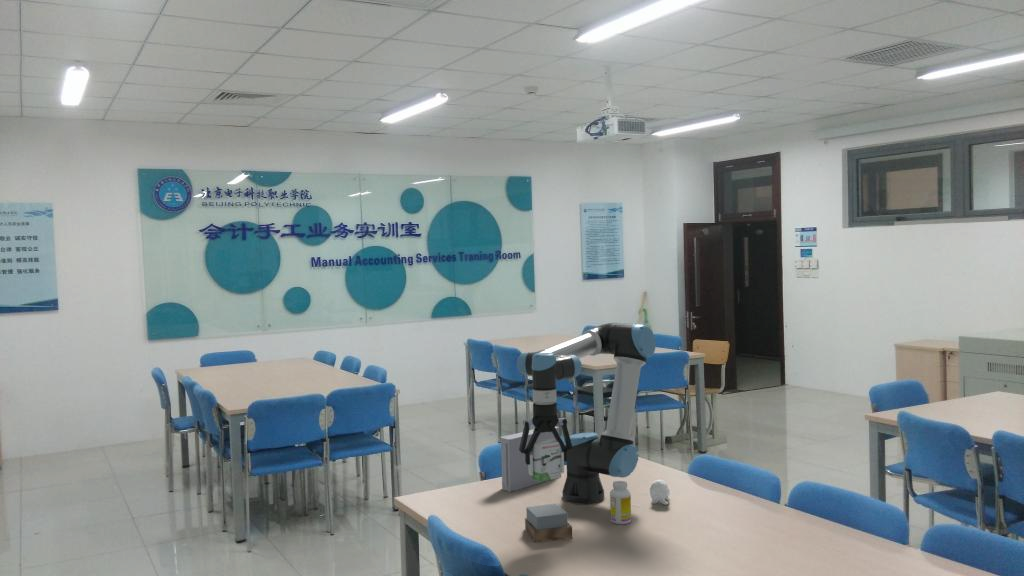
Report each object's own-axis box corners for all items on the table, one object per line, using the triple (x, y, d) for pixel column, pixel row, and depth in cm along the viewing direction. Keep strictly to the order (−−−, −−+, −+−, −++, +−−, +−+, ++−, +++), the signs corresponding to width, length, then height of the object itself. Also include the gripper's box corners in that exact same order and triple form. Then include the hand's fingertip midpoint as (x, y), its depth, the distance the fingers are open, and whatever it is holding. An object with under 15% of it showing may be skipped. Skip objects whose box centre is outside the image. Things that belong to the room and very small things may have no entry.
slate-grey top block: (555, 515, 246) (555, 503, 246) (567, 525, 237) (567, 513, 237) (526, 519, 243) (526, 507, 243) (537, 530, 234) (537, 517, 234)
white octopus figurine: (648, 480, 264) (655, 474, 276) (648, 505, 264) (655, 498, 275) (666, 482, 262) (673, 475, 273) (666, 507, 262) (673, 499, 273)
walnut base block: (560, 526, 248) (560, 514, 247) (572, 539, 236) (572, 526, 236) (525, 530, 245) (525, 518, 245) (535, 543, 233) (534, 531, 233)
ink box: (540, 482, 235) (539, 444, 234) (530, 478, 239) (529, 441, 238) (562, 477, 239) (561, 440, 239) (552, 473, 243) (552, 437, 243)
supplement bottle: (633, 519, 251) (632, 481, 251) (627, 526, 245) (627, 486, 245) (614, 516, 254) (613, 478, 253) (608, 523, 248) (607, 484, 247)
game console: (499, 489, 288) (498, 437, 287) (550, 473, 306) (548, 424, 305) (510, 492, 283) (508, 439, 282) (560, 476, 302) (559, 427, 301)
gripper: (513, 407, 232) (514, 479, 233) (582, 402, 237) (583, 473, 238) (507, 402, 239) (509, 472, 240) (574, 398, 244) (576, 466, 245)
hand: (546, 473), depth 239 cm, fingers closed on ink box, 9 cm apart
